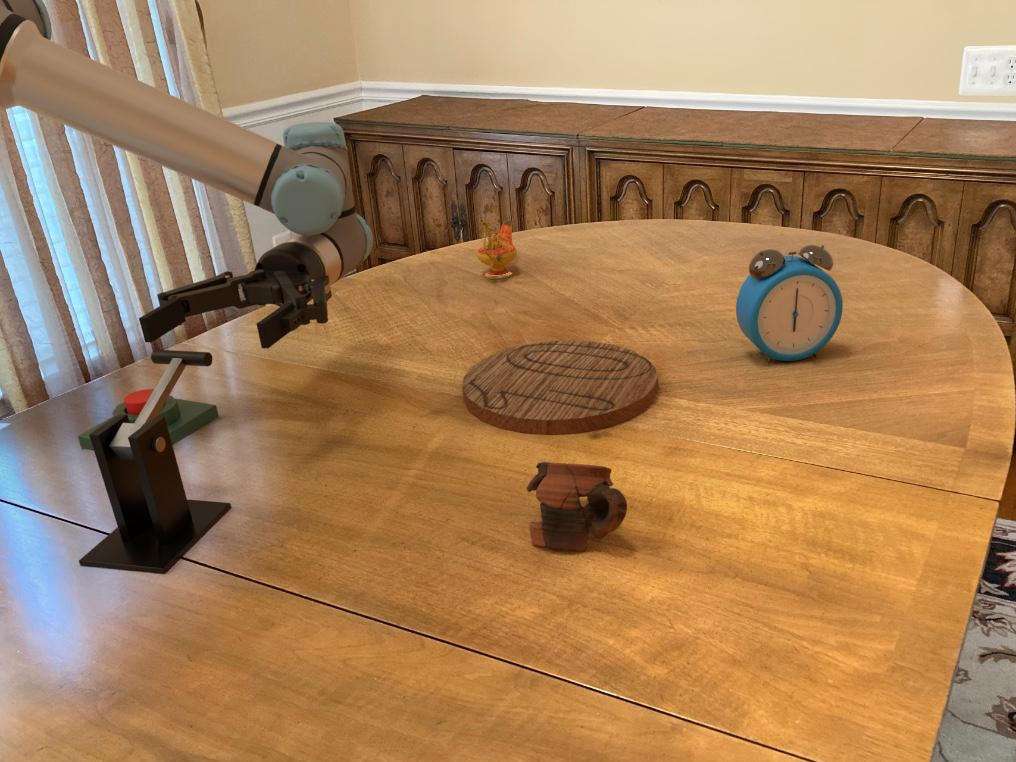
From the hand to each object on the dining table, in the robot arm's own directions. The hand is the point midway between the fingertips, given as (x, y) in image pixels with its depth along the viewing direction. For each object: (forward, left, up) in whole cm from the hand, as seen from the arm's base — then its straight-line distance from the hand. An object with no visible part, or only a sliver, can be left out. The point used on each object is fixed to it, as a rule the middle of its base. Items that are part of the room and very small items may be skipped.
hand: (202, 333), depth 102 cm
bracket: (+3, -14, -16) cm, 22 cm away
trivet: (+27, +31, -16) cm, 44 cm away
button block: (-15, +4, -16) cm, 23 cm away
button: (-15, +4, -13) cm, 20 cm away
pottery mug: (+42, +1, -17) cm, 45 cm away
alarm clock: (+52, +51, -17) cm, 74 cm away
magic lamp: (-3, +74, -17) cm, 76 cm away
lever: (+2, -9, -4) cm, 10 cm away
